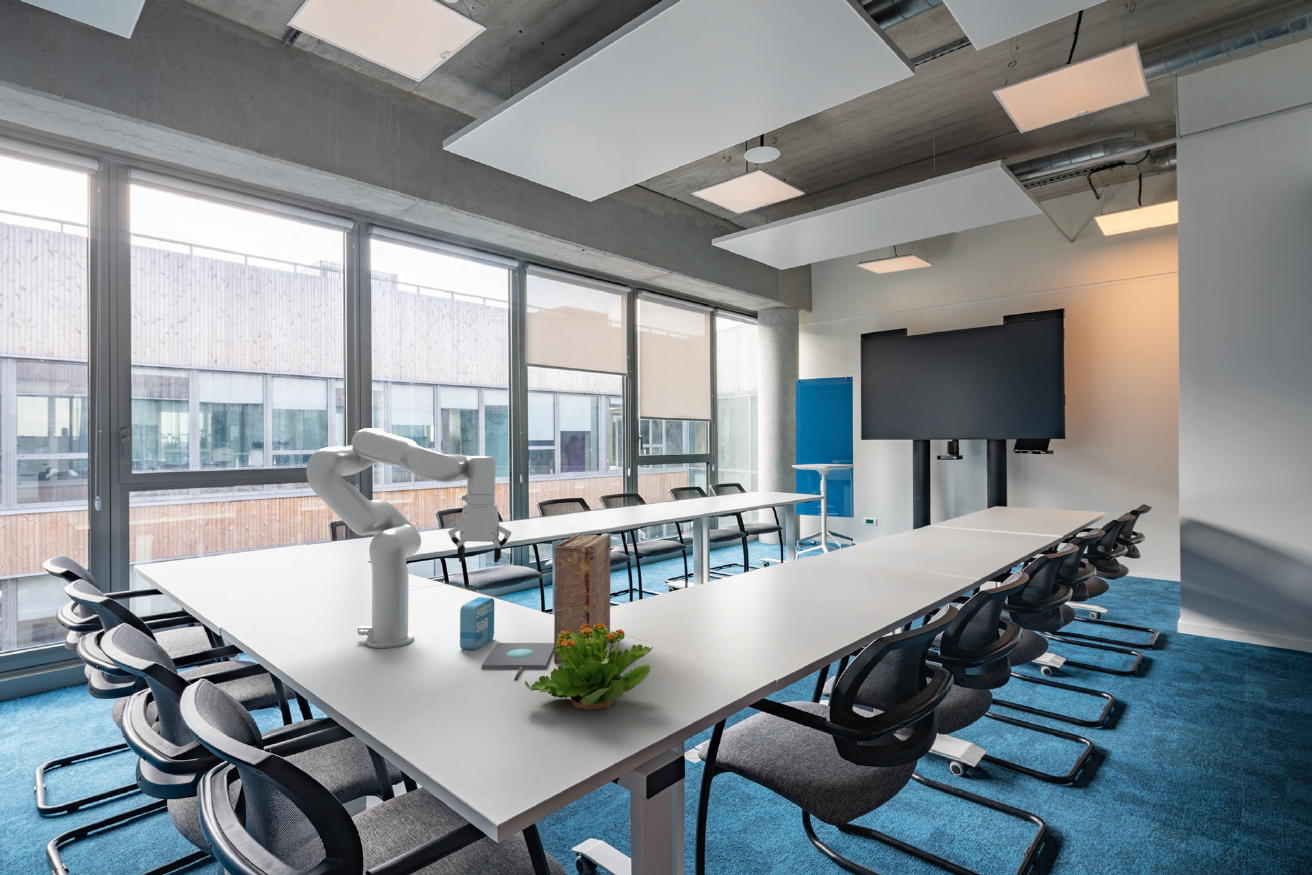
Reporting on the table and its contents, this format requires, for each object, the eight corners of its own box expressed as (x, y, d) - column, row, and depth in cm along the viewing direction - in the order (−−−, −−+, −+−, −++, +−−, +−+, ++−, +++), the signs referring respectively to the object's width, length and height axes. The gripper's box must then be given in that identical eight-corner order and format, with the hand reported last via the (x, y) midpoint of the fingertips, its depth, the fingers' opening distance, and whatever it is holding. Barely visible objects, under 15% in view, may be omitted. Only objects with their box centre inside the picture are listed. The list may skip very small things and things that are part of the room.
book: (579, 634, 193) (580, 532, 194) (610, 636, 192) (611, 533, 192) (553, 663, 168) (554, 546, 168) (588, 665, 167) (589, 547, 167)
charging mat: (473, 680, 156) (473, 675, 156) (497, 646, 182) (497, 642, 182) (541, 680, 156) (541, 676, 156) (555, 646, 182) (555, 642, 182)
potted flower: (577, 674, 160) (577, 602, 161) (667, 689, 151) (668, 613, 151) (518, 713, 137) (518, 629, 137) (620, 733, 128) (621, 643, 128)
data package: (474, 651, 177) (475, 606, 177) (459, 650, 178) (459, 606, 178) (494, 638, 189) (494, 596, 189) (479, 637, 190) (480, 595, 190)
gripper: (445, 500, 180) (444, 563, 180) (509, 502, 180) (507, 564, 180) (453, 498, 187) (451, 558, 187) (514, 499, 188) (512, 559, 188)
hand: (479, 561), depth 184 cm, fingers open, 9 cm apart
